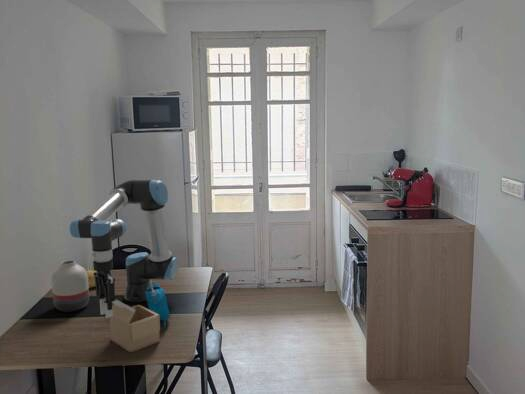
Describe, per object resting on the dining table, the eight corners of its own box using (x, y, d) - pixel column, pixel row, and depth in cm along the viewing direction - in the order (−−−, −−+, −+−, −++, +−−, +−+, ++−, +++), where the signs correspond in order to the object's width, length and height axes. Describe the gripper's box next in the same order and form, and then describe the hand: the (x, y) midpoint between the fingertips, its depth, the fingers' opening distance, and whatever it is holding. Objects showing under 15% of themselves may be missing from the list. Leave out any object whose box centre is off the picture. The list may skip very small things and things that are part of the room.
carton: (110, 339, 220) (108, 313, 218) (140, 329, 230) (138, 304, 228) (130, 353, 208) (129, 325, 206) (161, 341, 218) (160, 314, 216)
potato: (79, 285, 289) (77, 268, 287) (105, 283, 291) (104, 267, 289) (75, 291, 279) (74, 274, 277) (103, 289, 281) (101, 272, 280)
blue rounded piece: (171, 327, 232) (169, 285, 228) (148, 330, 229) (145, 287, 225) (168, 313, 247) (166, 273, 244) (146, 315, 245) (144, 275, 241)
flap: (109, 313, 217) (90, 304, 211) (117, 298, 219) (98, 289, 213) (128, 324, 206) (108, 315, 200) (136, 308, 208) (117, 299, 202)
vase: (66, 300, 266) (62, 256, 262) (96, 302, 263) (92, 257, 259) (46, 313, 250) (42, 266, 246) (78, 315, 247) (74, 268, 243)
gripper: (84, 257, 207) (88, 312, 211) (104, 266, 195) (108, 324, 199) (101, 253, 212) (105, 307, 216) (121, 261, 200) (125, 318, 205)
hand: (106, 315), depth 208 cm, fingers closed on flap, 4 cm apart
